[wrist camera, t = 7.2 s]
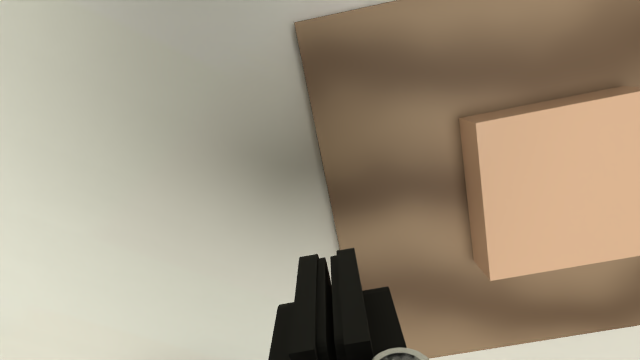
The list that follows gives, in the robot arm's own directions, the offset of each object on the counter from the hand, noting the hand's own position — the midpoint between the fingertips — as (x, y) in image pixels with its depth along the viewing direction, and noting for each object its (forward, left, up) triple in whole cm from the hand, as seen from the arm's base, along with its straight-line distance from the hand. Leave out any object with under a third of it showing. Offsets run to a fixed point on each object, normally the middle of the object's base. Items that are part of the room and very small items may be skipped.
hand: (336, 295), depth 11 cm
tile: (+1, +7, -8) cm, 11 cm away
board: (+1, +10, -10) cm, 15 cm away
